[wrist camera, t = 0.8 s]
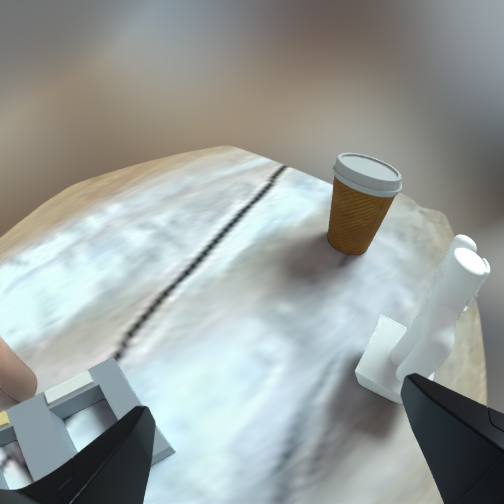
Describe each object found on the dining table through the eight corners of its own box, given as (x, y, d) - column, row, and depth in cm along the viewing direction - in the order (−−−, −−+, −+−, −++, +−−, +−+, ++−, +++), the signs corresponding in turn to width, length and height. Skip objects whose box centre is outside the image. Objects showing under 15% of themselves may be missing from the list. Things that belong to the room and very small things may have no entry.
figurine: (334, 398, 21) (422, 277, 12) (370, 328, 27) (433, 207, 18) (399, 430, 18) (520, 332, 9) (424, 356, 24) (504, 247, 15)
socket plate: (8, 519, 6) (-12, 515, 4) (-22, 438, 11) (-40, 427, 9) (175, 451, 17) (168, 445, 15) (121, 370, 22) (111, 354, 20)
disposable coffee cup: (317, 217, 44) (332, 146, 36) (373, 229, 42) (395, 162, 35) (315, 255, 36) (336, 170, 29) (381, 268, 35) (413, 190, 28)
